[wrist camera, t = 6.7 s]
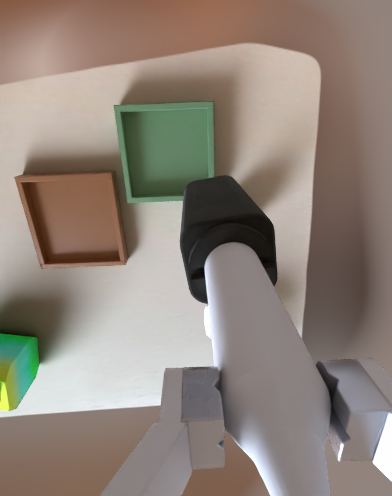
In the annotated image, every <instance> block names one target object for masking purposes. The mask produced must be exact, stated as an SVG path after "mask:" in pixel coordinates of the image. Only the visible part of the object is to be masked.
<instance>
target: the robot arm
mask: <svg viewBox="0 0 392 496" xmlns="http://www.w3.org/2000/svg"><path fill="white" fill-rule="evenodd" d="M316 367H317V369H318V371H319V373H320V375H321V376H322V378H323V380H324V382H325V384H326V386H327V388H328V390H329V394H330V399H331V405H332V407H331V415H330V422H329V426H328V431H327V436H328V439H329V441H330V443H331V445H332V447H333V449H334V452H335V454H336V456H337V458H338V461H373V463H374V464H375V466H377V467H378V468H379V469H380V470H381V471H382V472H383V473H384V474H385V475H386V476H387V477H388V478H389V479H390V480H391V481H392V379H391V378H390V377H389V375H388V374H387V373H386V372H385V370H384V369H383V368H382V367H381V365H380V364H379V363H378V362H377V361H376V360H375V359H373V358H360V359H343V360H328V361H327V360H326V361H318V362H317V364H316ZM224 438H225V436H224V413H223V404H222V395H221V392H220V380H219V371H218V367H184V368H166V369H165V372H164V380H163V389H162V398H161V408H160V417H159V423H155V424H153V425H152V426H151V427H150V429H149V430H148V431H147V433H146V434H145V435H144V437H143V438H142V439H141V441H140V442H139V443H138V445H137V446H136V448H135V449H134V450H133V451H132V453H131V454H130V456H129V457H128V458H127V459H126V461H125V462H124V463H123V465H122V466H121V467H120V469H119V470H118V471H117V473H116V474H115V475H114V477H113V478H112V479H111V481H110V482H109V483H108V485H107V486H106V487H105V489H104V490H103V492H102V493H101V494H100V496H181V495H182V493H183V491H184V489H185V487H186V484H187V482H188V480H189V478H190V476H191V474H192V470H195V469H208V468H220V467H225V464H224V463H225V449H224Z"/></svg>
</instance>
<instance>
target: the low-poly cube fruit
mask: <svg viewBox="0 0 392 496" xmlns="http://www.w3.org/2000/svg"><path fill="white" fill-rule="evenodd" d="M38 367H39V353H38V341H37V338H36V337H28V336H18V335H9V334H0V410H4V411H11V410H14V409H16V408H17V407H18V405H19V403H20V402H21V400H22V399H23V397H24V395H25V394H26V392H27V390H28V389H29V387H30V385H31V384H32V382H33V381H34V379H35V377H36V374H37V370H38Z"/></svg>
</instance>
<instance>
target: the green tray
mask: <svg viewBox="0 0 392 496" xmlns="http://www.w3.org/2000/svg"><path fill="white" fill-rule="evenodd" d="M213 107H214V102H213V101H204V102H180V103H156V104H132V105H114V110H115V117H116V124H117V131H118V139H119V146H120V153H121V160H122V167H123V174H124V182H125V189H126V196H127V203H139V202H162V201H183V199H184V190H185V188H186V186H187V185H188V184H189V183H190V182H192V181H196V180H201V179H207V178H212V177H214V108H213Z"/></svg>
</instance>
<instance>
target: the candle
mask: <svg viewBox="0 0 392 496" xmlns="http://www.w3.org/2000/svg"><path fill="white" fill-rule="evenodd" d="M180 248H181V253H182V257H183V262H184V267H185V271H186V276H187V281H188V285H189V290H190V292H191V294H192V296H193V297H194V298H195V299H196V300H198V301H199V302H202V303H206V304H208V307H209V317H210V326H211V336H212V345H213V355H214V364H215V367H218V371H219V380H220V392H221V395H222V404H223V413H224V427H225V429H226V431H227V432H228V433H229V434H230V436H231V437H232V438H233V439H234V441H235V442H236V443H237V444H238V445H239V446H240V447H241V448H242V449H243V450H244V451H245V453H247V455H248V456H249V457H250V458H251V459H252V460H253V461H254V462H255V464H256V466H257V468H258V470H259V472H260V475H261V477H262V479H263V481H264V483H265V485H266V487H267V489H268V491H269V493H270V495H271V496H330V488H329V480H328V473H327V465H326V457H325V451H324V447H325V441H326V436H327V431H328V426H329V422H330V415H331V407H332V405H331V399H330V394H329V390H328V388H327V386H326V384H325V382H324V380H323V378H322V376H321V375H320V373H319V371H318V369H317V367H316V365H315V363H314V362H313V360H312V358H311V356H310V354H309V352H308V350H307V348H306V346H305V345H304V343H303V341H302V339H301V337H300V335H299V333H298V331H297V329H296V328H295V326H294V324H293V322H292V320H291V318H290V316H289V314H288V312H287V311H286V309H285V307H284V305H283V303H282V301H281V299H280V297H279V296H278V294H277V292H276V290H275V288H274V286H275V284H276V282H277V262H276V247H275V232H274V226H273V224H272V222H271V221H270V219H269V218H268V217H267V216H266V215H265V214H264V213H263V211H262V210H261V209H260V208H259V207H258V206H257V205H256V203H255V202H254V201H253V200H252V199H251V198H250V197H249V195H248V194H247V193H246V192H245V191H244V190H243V189H242V187H241V186H240V185H239V184H238V183H237V182H236V181H235V179H233V178H232V177H230V176H227V175H224V176H218V177H212V178H207V179H201V180H196V181H192V182H190V183H189V184H188V185H187V186H186V188H185V190H184V199H183V211H182V222H181V234H180Z"/></svg>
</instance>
